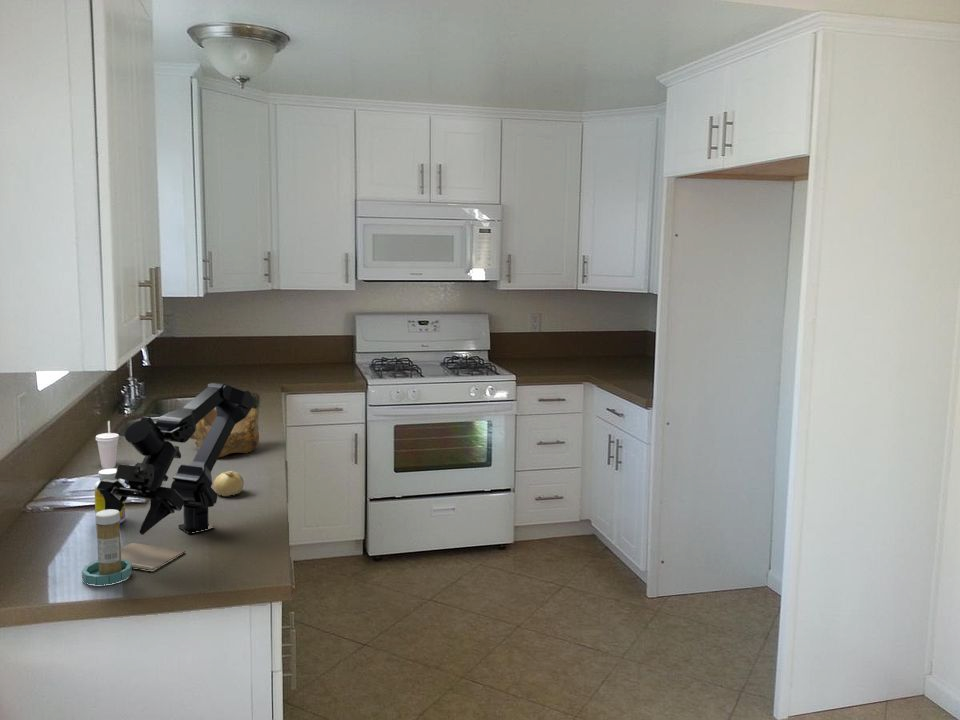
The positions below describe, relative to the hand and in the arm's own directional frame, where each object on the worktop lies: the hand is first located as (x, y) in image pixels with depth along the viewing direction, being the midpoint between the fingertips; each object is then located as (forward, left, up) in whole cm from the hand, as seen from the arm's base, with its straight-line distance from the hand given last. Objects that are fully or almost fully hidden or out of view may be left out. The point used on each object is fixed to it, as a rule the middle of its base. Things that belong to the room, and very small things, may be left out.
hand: (122, 530), depth 173 cm
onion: (-32, +40, -9) cm, 51 cm away
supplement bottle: (-29, +8, -8) cm, 32 cm away
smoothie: (-77, +24, -8) cm, 81 cm away
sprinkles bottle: (+3, -4, -8) cm, 9 cm away
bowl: (+2, -4, -8) cm, 10 cm away
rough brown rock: (-69, +57, -9) cm, 90 cm away
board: (-3, +5, -8) cm, 10 cm away
